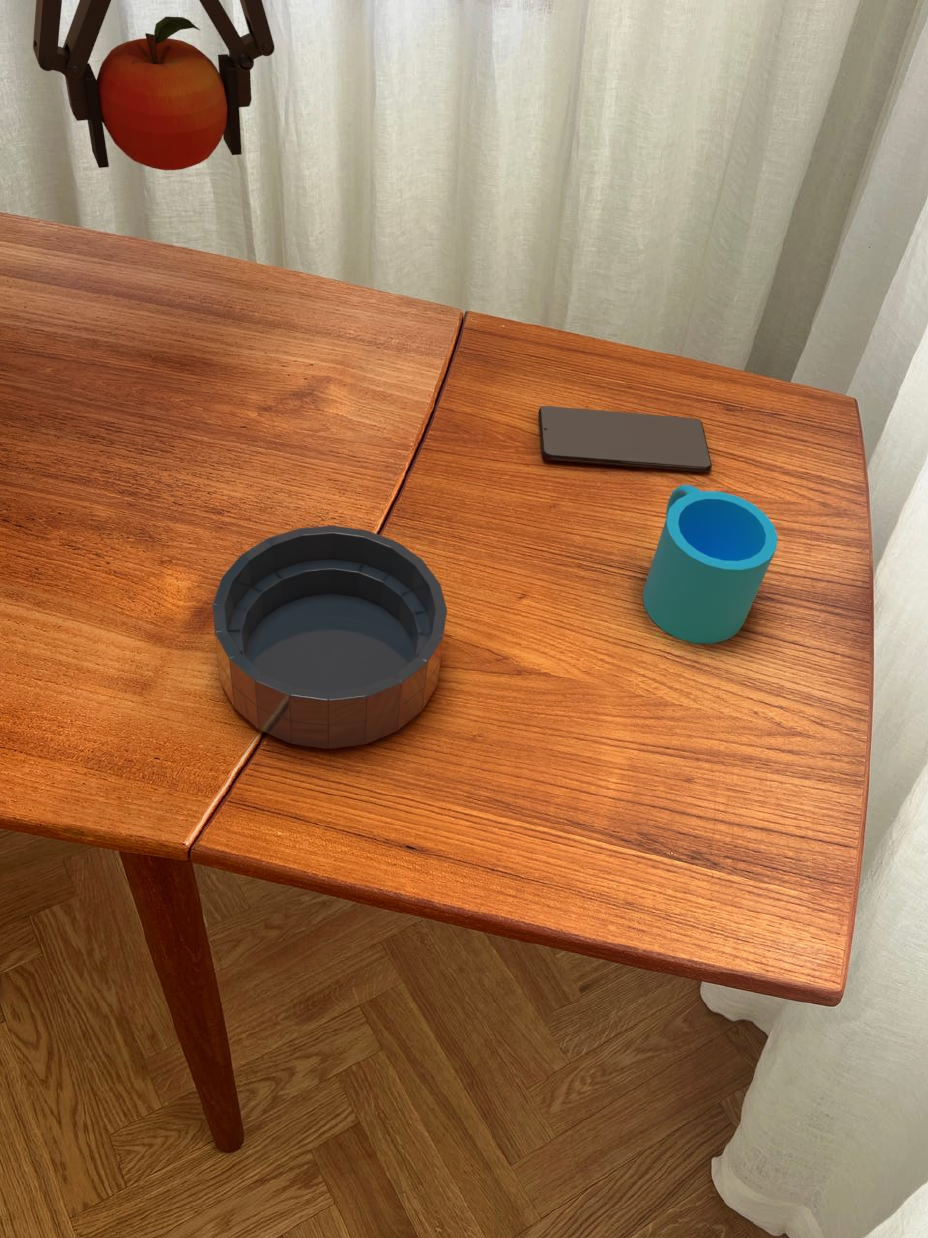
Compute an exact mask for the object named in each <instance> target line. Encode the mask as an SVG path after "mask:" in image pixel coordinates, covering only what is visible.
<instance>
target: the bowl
mask: <svg viewBox="0 0 928 1238" xmlns="http://www.w3.org/2000/svg"><path fill="white" fill-rule="evenodd" d="M211 607H212V609H211V610H212V618H213V628H214V630H213V631H214V638H215V646H216V655H217V656H216V657H217V664H218V674H219V681H220V685H221V686H222V688H223V690H224V692H225V694H226V696H227V698H228V700H229V701H230V703H231V705H232V706H233V708H234V710H236V711H237V712H238V713H239V714H240V715H241V716H243V717H244V718H245V719H246V720H247V721H248V722H249V723H250V724H252V726H254V727H255V728H256V729H257V730H259V731H261V732H263V733H265V734H267V735H270V736H272V737H274V738H277V739H279V740H282V741H284V742H285V743H289V744H292V745H296V746H304V747H311V748H317V749H318V748H319V749H324V750H325V749H338V748H339V749H340V748H345V747H346V748H347V747H354V746H355V747H356V746H363V745H367V744H369V743H372V742H374V741H377V740H380V739H381V738H384V737H387V736H390V735H391V734H393V733H396V732H398V731H399V730H401V728H403V727H404V726H405V725H407V724H408V723H409V722H410V721H411V720H412V719H414V718H415V717H416V716H417V715H419V714H420V713H421V712H422V711H423V710H424V708H425V706H426V705H427V704H428V702H429V700H430V698H431V697H432V694H433V693H434V691H435V690H436V688H437V686H438V682H439V677H440V669H441V662H442V656H443V647H444V639H445V632H446V631H445V630H446V623H447V615H448V607H447V604H446V600H445V595H444V593H443V588H442V585H441V583H440V581H439V580H438V579H437V577H436V576H435V575H434V573H433V572H432V570H431V569H430V568H429V566H428V565H427V563H425V561H424V560H423V559H422V558H421V557H420V556H418V555H416V554H415V553H414V552H412V551H411V550H410V549H408V548H407V547H406V546H404V545H403V544H402V543H400V542H398V541H396V540H394V539H391V538H388V537H386V536H383V535H381V534H378V533H375V532H373V531H370V530H366V529H360V528H355V527H354V528H353V527H347V526H346V527H345V526H339V525H324V526H322V525H321V526H311V527H300V528H295V529H292V530H289V531H286V532H282V533H280V534H277V535H273V536H270V537H268V538H266V539H264V540H262V541H261V542H260V543H258V544H256V545H254V546H253V547H251V548H250V549H248V550H246V551H245V552H243V553H242V554H240V556H239V557H238V558H237V559H236V560H235V561H234V562H233V564H232V565H231V566H230V567H229V568H228V570H227V571H226V572H225V573H224V575H222V577H221V579H220V581H219V584H218V587H217V590H216V593H215V596H214V598H213V602H212V606H211Z"/></svg>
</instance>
